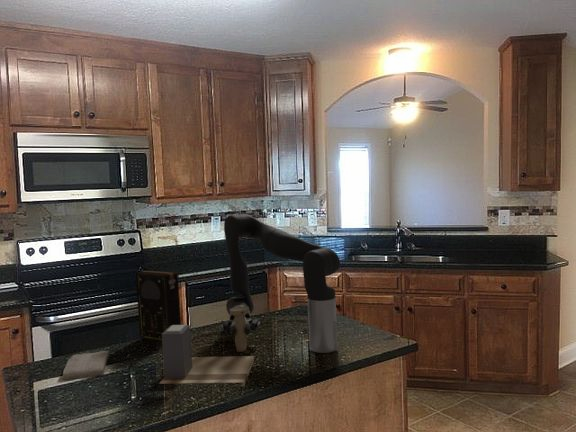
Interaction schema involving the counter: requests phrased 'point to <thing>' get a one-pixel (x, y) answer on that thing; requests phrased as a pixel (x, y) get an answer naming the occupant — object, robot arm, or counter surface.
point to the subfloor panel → (216, 370)
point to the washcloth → (86, 365)
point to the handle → (240, 327)
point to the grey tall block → (177, 351)
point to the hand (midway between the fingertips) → (240, 332)
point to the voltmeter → (157, 303)
